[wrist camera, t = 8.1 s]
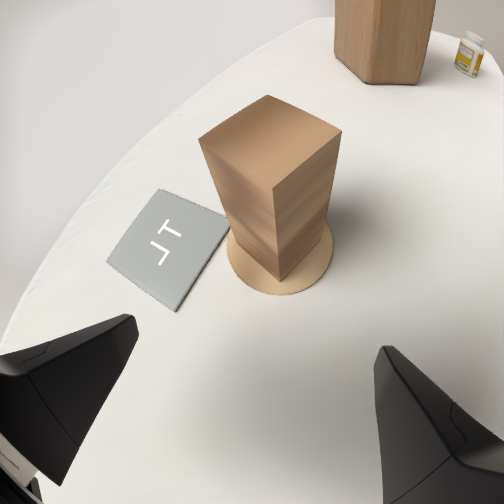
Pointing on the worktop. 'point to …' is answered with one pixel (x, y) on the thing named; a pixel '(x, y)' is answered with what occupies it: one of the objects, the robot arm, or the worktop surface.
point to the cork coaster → (295, 280)
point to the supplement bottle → (469, 54)
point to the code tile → (168, 247)
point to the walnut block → (274, 179)
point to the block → (383, 38)
